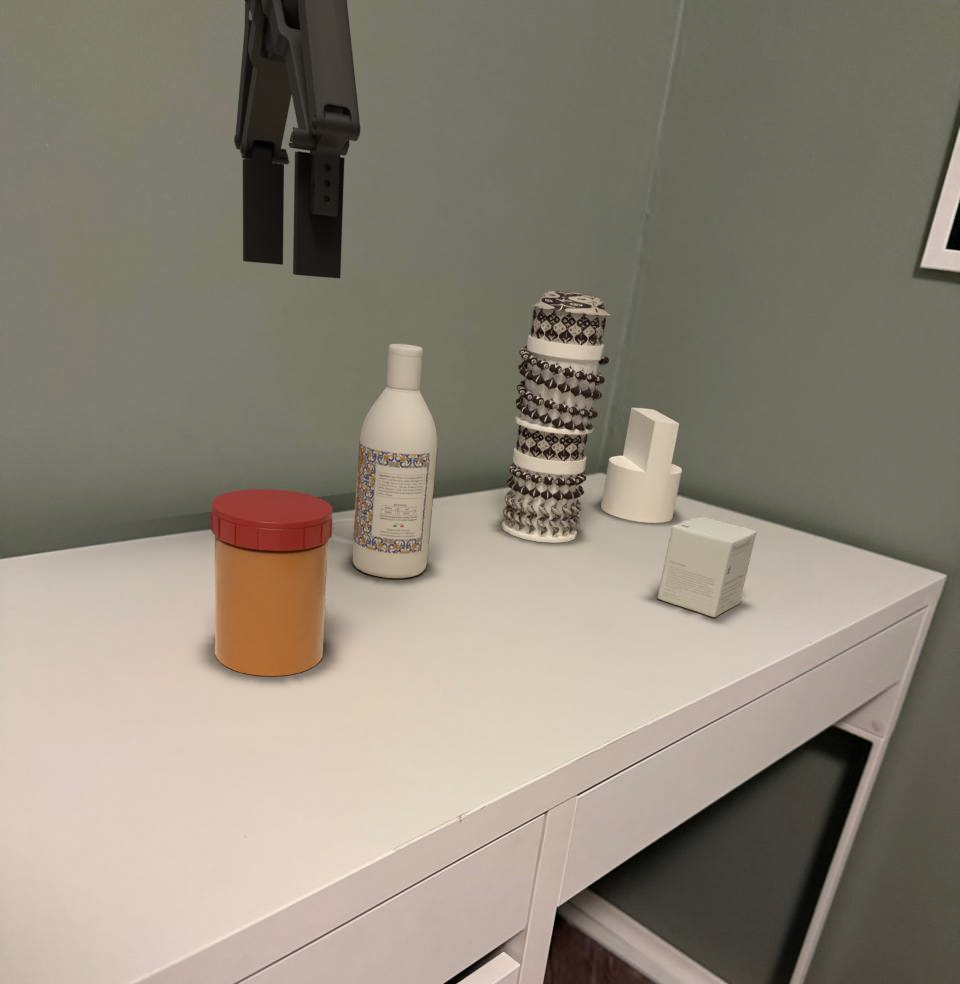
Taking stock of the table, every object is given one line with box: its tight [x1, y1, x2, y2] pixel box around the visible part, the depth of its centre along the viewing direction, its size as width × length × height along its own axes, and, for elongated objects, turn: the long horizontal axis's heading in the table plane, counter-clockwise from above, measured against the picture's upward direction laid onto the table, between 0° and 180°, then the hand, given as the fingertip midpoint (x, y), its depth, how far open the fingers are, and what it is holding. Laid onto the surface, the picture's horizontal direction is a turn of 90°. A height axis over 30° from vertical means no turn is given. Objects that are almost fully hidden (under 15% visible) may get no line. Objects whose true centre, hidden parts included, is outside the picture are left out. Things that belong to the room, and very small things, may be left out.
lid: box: [210, 488, 333, 551], centre depth 63 cm, size 8×8×2 cm
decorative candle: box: [501, 290, 611, 544], centre depth 98 cm, size 9×9×25 cm
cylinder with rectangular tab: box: [600, 407, 683, 524], centre depth 113 cm, size 9×9×12 cm
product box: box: [657, 516, 757, 618], centre depth 86 cm, size 6×6×7 cm
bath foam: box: [352, 343, 439, 579], centre depth 82 cm, size 7×7×20 cm
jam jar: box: [214, 535, 329, 677], centre depth 65 cm, size 8×8×11 cm
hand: (287, 269), depth 61 cm, fingers open, 13 cm apart
